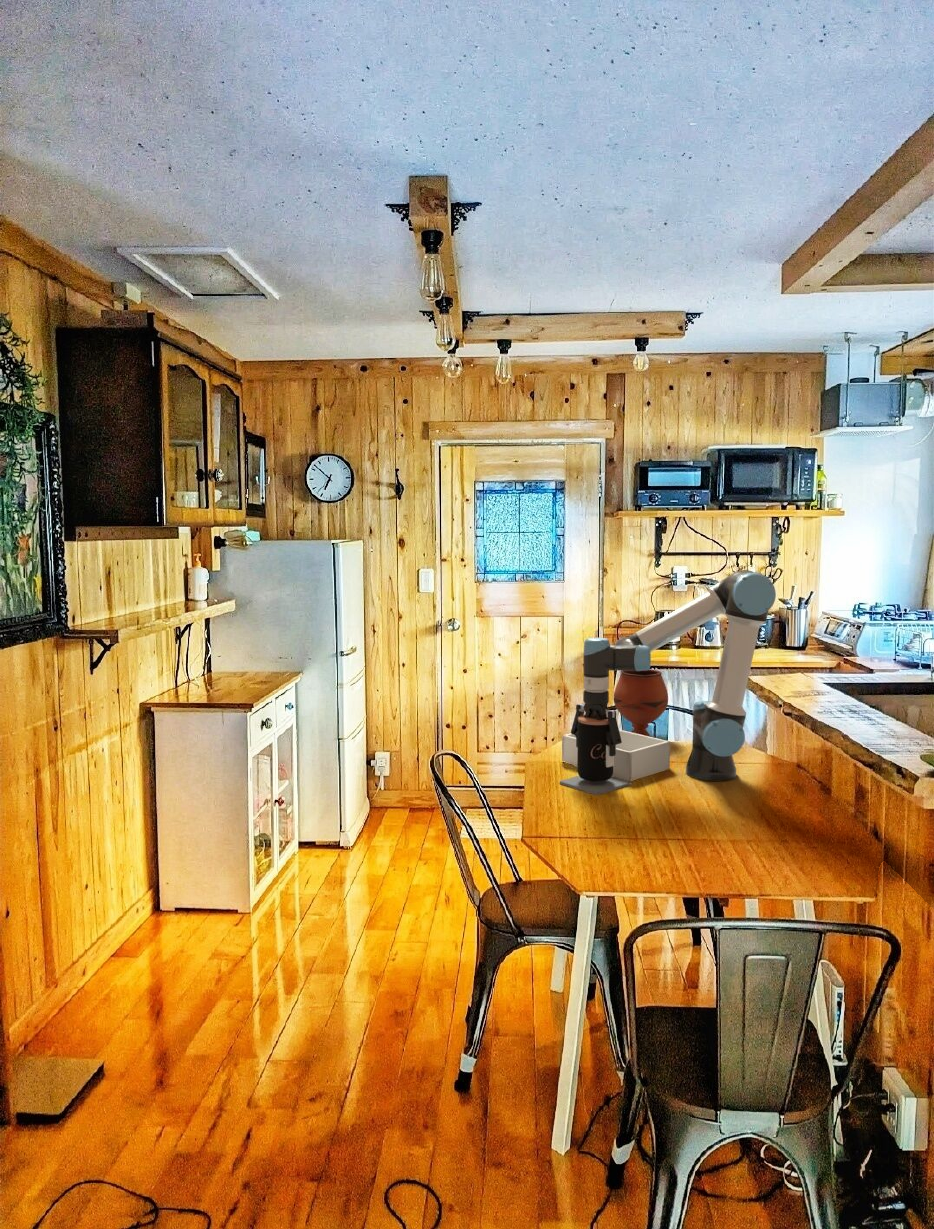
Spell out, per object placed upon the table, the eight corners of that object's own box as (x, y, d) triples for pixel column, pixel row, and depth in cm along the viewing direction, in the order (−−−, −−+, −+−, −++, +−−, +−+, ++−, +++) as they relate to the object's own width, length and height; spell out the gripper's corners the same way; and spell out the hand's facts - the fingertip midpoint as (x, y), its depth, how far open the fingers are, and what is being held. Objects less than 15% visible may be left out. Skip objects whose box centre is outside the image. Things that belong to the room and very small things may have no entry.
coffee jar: (591, 784, 257) (591, 723, 255) (570, 774, 266) (570, 716, 264) (620, 778, 262) (621, 719, 260) (599, 769, 271) (599, 712, 269)
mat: (630, 785, 264) (630, 782, 263) (597, 795, 254) (597, 792, 254) (592, 774, 275) (592, 771, 275) (559, 783, 265) (559, 781, 265)
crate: (669, 769, 280) (670, 741, 279) (629, 781, 267) (629, 752, 266) (602, 751, 301) (602, 725, 300) (561, 762, 288) (562, 735, 287)
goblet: (676, 744, 310) (678, 674, 307) (625, 747, 306) (626, 677, 303) (653, 731, 329) (654, 665, 326) (605, 734, 325) (606, 667, 322)
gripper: (559, 686, 267) (558, 756, 270) (618, 697, 250) (617, 773, 252) (575, 682, 272) (575, 752, 275) (634, 694, 255) (633, 768, 257)
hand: (595, 762), depth 264 cm, fingers closed on coffee jar, 10 cm apart
